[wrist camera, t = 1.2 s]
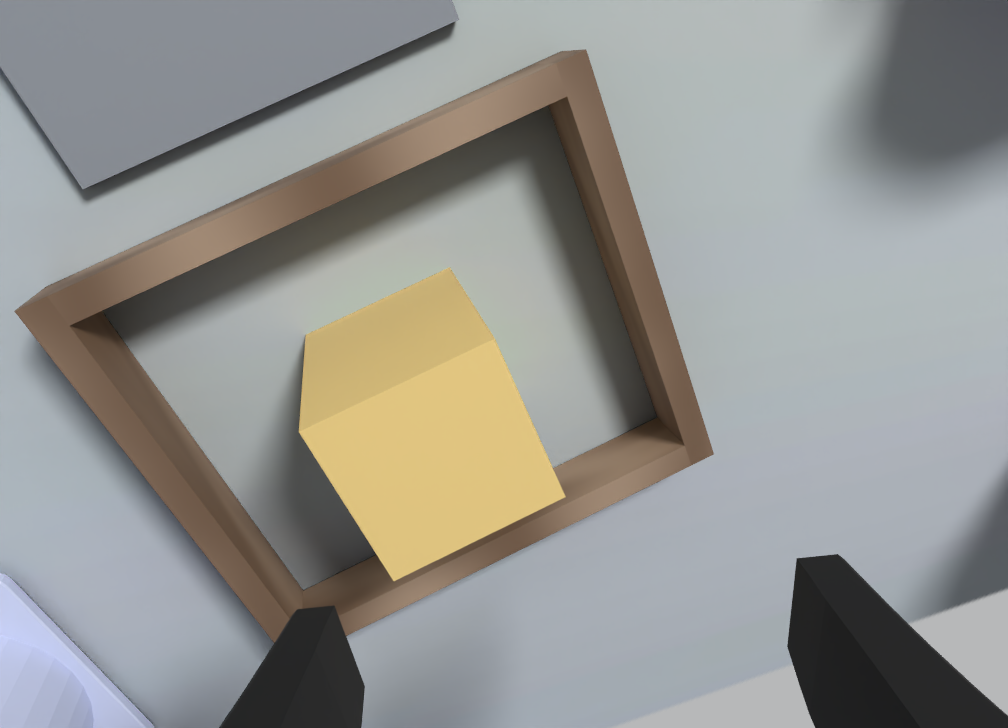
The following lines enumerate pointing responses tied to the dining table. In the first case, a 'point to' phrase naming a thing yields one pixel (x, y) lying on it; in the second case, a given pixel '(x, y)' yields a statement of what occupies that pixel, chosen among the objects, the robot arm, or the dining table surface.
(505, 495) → the ochre block
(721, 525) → the dining table surface
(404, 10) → the mat
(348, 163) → the wooden picture frame
